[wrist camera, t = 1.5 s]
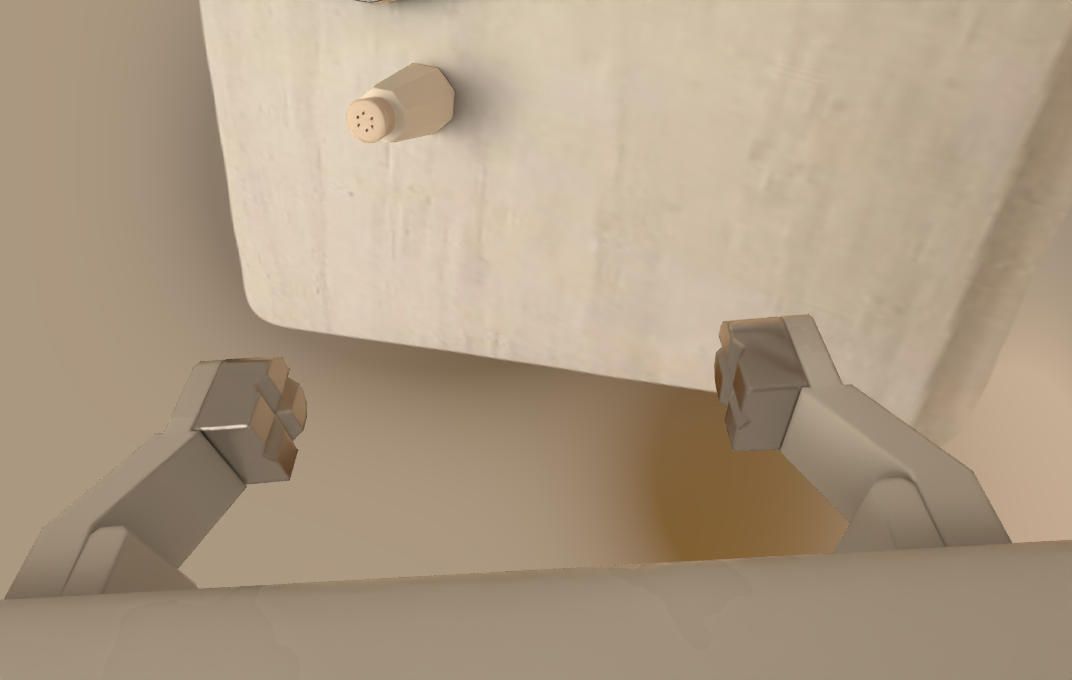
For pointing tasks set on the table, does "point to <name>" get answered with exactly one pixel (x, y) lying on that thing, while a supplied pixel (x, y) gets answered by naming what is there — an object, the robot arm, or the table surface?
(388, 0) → the pan
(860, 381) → the table surface
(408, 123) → the pepper shaker
